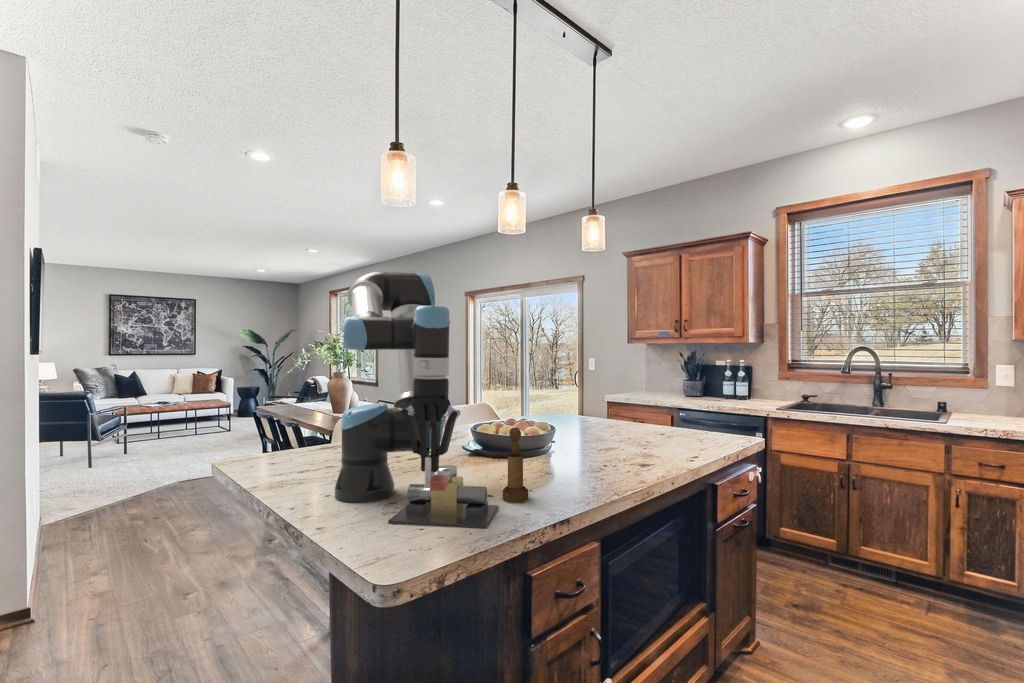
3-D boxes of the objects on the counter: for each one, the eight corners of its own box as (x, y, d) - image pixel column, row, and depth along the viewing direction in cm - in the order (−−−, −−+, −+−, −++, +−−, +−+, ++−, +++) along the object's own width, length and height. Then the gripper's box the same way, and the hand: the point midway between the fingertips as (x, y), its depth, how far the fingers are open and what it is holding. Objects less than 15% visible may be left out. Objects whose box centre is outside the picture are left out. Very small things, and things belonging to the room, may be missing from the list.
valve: (388, 523, 112) (388, 485, 112) (410, 503, 126) (410, 470, 126) (486, 528, 109) (486, 489, 109) (498, 507, 122) (498, 472, 123)
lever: (439, 473, 121) (439, 465, 121) (458, 473, 121) (458, 465, 121) (426, 490, 107) (426, 481, 107) (447, 490, 107) (447, 481, 107)
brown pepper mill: (519, 504, 125) (519, 430, 125) (497, 500, 128) (497, 428, 128) (533, 497, 130) (532, 427, 131) (511, 493, 134) (511, 425, 134)
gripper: (396, 377, 108) (394, 489, 108) (453, 379, 106) (452, 493, 105) (410, 375, 115) (409, 480, 115) (464, 377, 113) (463, 484, 113)
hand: (429, 486), depth 110 cm, fingers closed
